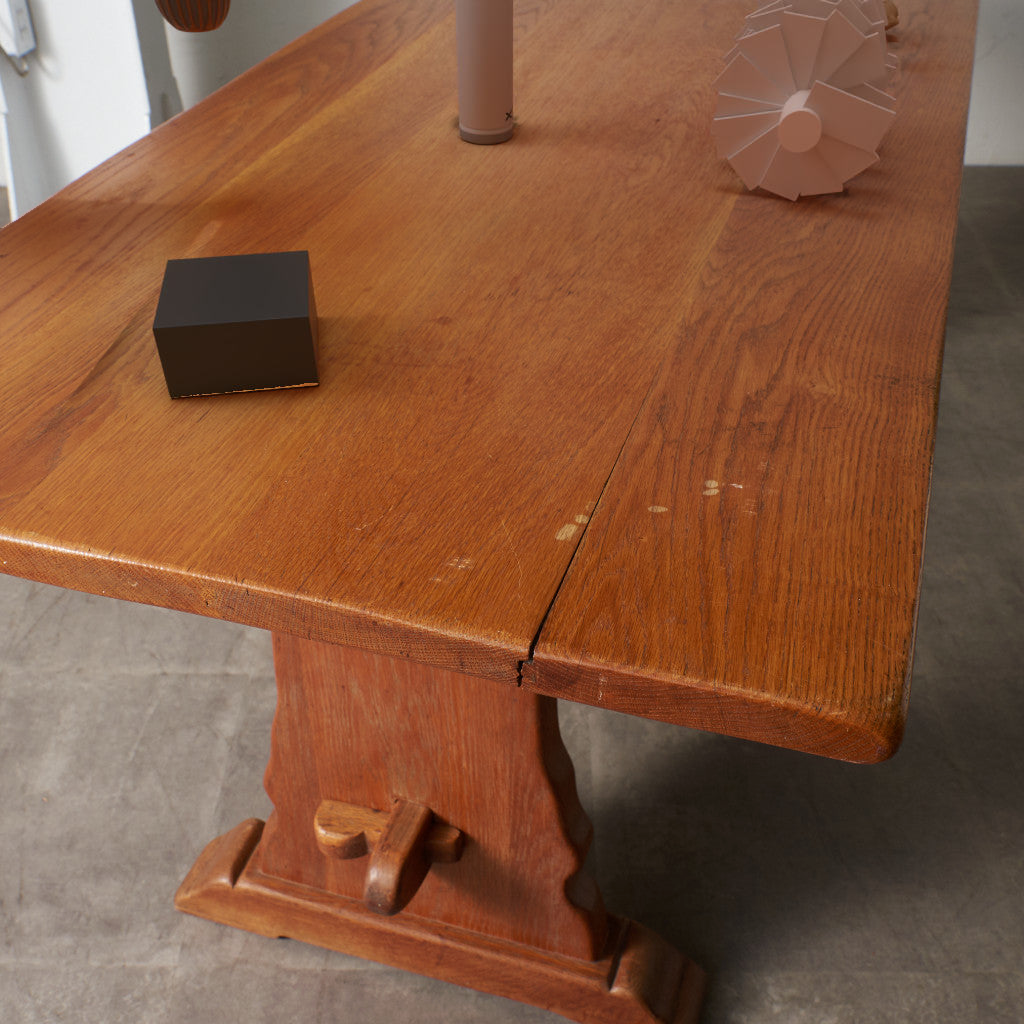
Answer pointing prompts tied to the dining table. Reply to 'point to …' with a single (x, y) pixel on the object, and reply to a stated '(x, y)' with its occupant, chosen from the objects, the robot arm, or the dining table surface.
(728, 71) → the spiral staircase
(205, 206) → the dining table surface
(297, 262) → the riser block
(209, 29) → the vase
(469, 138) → the travel mug
